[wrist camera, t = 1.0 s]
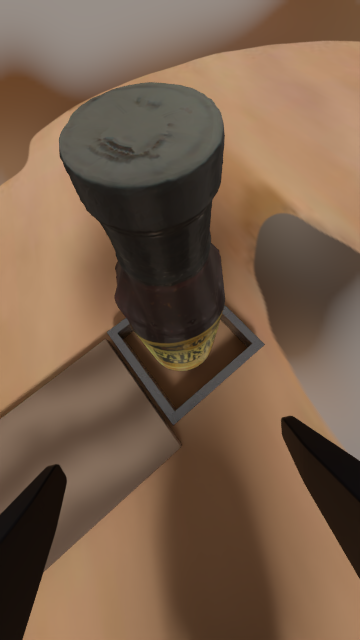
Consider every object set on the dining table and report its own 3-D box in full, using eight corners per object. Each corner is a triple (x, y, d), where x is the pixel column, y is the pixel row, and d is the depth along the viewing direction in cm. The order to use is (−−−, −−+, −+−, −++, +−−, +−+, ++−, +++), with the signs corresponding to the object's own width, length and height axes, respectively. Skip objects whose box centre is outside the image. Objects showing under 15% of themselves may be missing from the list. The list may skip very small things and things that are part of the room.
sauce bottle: (170, 384, 22) (11, 307, 4) (145, 333, 24) (-37, 119, 6) (225, 353, 23) (335, 149, 4) (196, 306, 25) (182, 31, 6)
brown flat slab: (181, 444, 20) (181, 446, 19) (9, 601, 18) (-2, 612, 17) (109, 341, 24) (105, 338, 23) (-40, 454, 22) (-51, 457, 21)
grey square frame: (259, 349, 23) (264, 344, 21) (175, 423, 21) (173, 425, 19) (190, 279, 26) (189, 269, 24) (114, 337, 24) (106, 332, 23)
